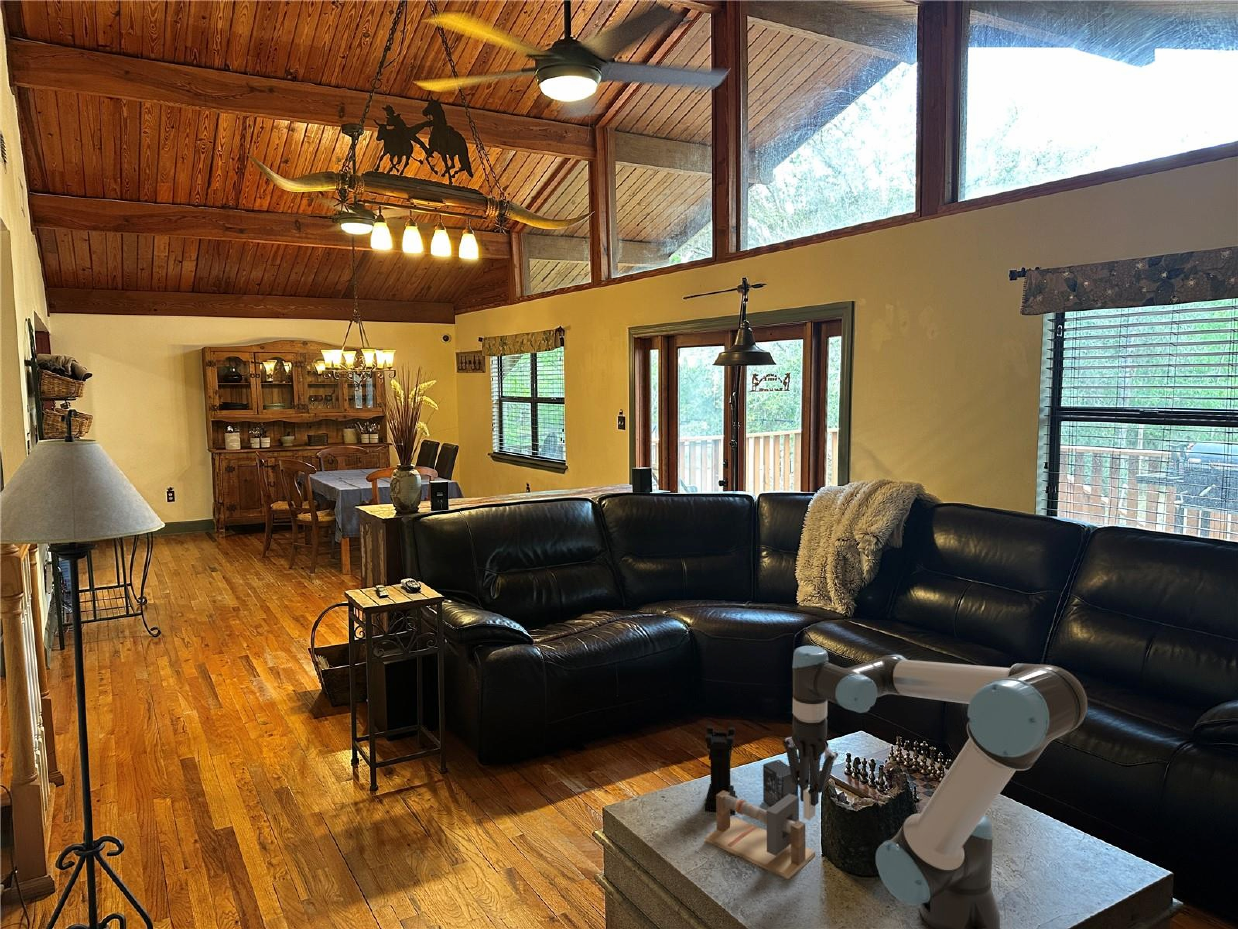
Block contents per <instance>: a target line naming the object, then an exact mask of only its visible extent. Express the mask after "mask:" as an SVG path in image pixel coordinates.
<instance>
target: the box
mask: <svg viewBox="0 0 1238 929" xmlns="http://www.w3.org/2000/svg"><path fill="white" fill-rule="evenodd" d="M762 775H763V776H762V782H763V784H762V785H763V786H762V788H763V789H762V793H763V794H762V796H763V798H762V799H763V800H762V801H763V802H764V803H765V804H767V805H768V806H770V807H772V806H773V805H774V804H776V803H777V802H778V801H780V800H781V799H783V798H784V797H785V796H787V795H788V794H789V793H790V794H793V795H795V796H798V797H799V785H798V784H794V783H793V781H792V777H791V772H790V767H789V764H786V763H785V762H783V761H782V760H780V759H779V758H778V759H776V760H773V761H769V762H766V763H763V765H762Z"/></svg>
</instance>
